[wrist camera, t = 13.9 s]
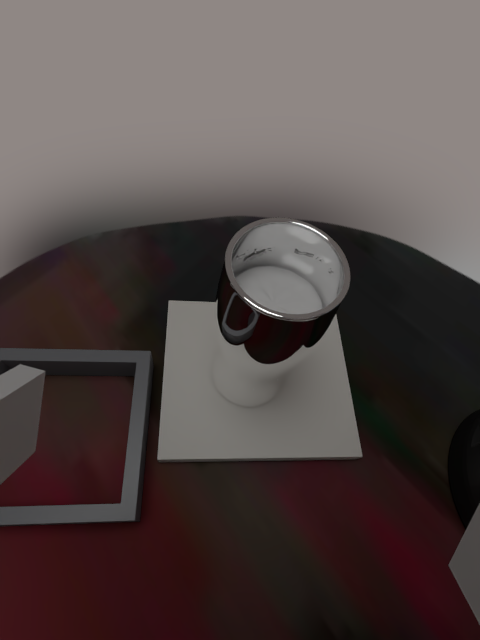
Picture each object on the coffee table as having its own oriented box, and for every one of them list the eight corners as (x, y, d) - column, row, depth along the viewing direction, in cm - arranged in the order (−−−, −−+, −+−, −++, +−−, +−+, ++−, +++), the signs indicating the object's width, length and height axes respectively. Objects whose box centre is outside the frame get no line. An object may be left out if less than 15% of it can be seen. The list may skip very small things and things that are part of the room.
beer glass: (190, 369, 31) (191, 255, 19) (247, 322, 34) (283, 196, 21) (248, 431, 30) (295, 351, 17) (303, 375, 32) (380, 271, 20)
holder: (153, 365, 33) (150, 351, 30) (140, 521, 27) (134, 520, 24) (6, 363, 31) (-10, 347, 29) (-42, 527, 25) (-69, 527, 23)
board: (330, 312, 38) (334, 306, 36) (356, 459, 31) (362, 456, 30) (169, 307, 36) (168, 300, 35) (158, 462, 29) (157, 459, 28)
